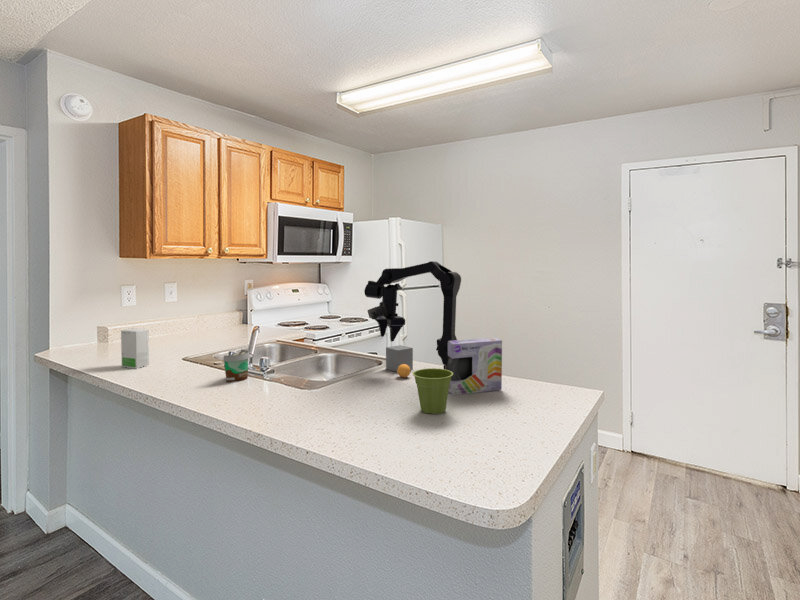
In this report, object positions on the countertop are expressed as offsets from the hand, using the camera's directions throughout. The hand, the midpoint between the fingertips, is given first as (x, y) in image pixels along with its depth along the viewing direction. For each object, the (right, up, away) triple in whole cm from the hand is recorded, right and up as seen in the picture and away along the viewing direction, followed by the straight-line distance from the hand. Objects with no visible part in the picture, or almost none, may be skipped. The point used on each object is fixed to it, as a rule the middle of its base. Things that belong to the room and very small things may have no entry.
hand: (387, 338), depth 178 cm
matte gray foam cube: (+5, -13, +3) cm, 14 cm away
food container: (-54, -14, -12) cm, 57 cm away
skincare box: (-105, -12, +8) cm, 106 cm away
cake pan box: (+30, -16, -28) cm, 44 cm away
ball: (+7, -11, -10) cm, 16 cm away
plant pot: (+15, -17, -47) cm, 52 cm away
